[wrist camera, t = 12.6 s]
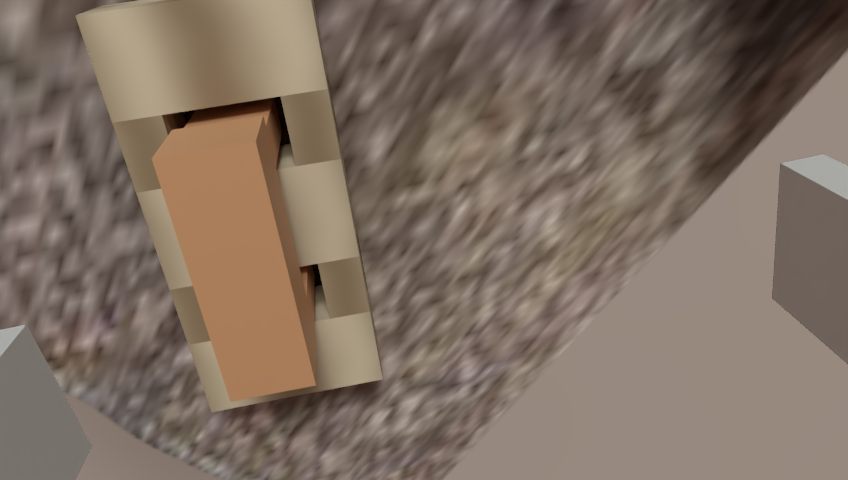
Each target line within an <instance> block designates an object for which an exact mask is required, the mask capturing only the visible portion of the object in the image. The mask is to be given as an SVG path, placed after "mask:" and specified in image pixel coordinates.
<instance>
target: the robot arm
mask: <svg viewBox="0 0 848 480" xmlns="http://www.w3.org/2000/svg"><path fill="white" fill-rule="evenodd" d="M772 298H773V299H774V300H775V301H776V302H777V303H778V304H779V305H781V306H782V307H783V308H784V309H785V310H786V311H787V312H789V313H790V314H791V315H792V316H793V317H794V318H796V319H797V320H798V321H799V322H800V323H801V324H803V325H804V326H805V327H806V328H807V329H808V330H809V331H810V332H812V333H813V334H814V335H815V336H816V337H817V338H818V339H820V340H821V341H822V342H823V343H824V344H826V346H828V347H829V348H830V349H831V350H832V351H833V352H834V353H836V354H837V355H838V356H839V357H840V358H841V359H843V360H844V361H845V362H846V363H847V364H848V165H846V164H844V163H842V162H840V161H837V160H835V159H833V158H831V157H829V156H827V155H825V154H821V155H816V156H812V157H807V158H802V159H798V160H793V161H788V162H783V163H781V164H780V179H779V195H778V211H777V228H776V244H775V260H774V276H773V292H772ZM91 447H92V445H91V443H90V441H89V439H88V438H87V436H86V434H85V432H84V430H83V428H82V426H81V424H80V423H79V421H78V419H77V417H76V415H75V413H74V412H73V410H72V408H71V406H70V404H69V402H68V401H67V399H66V397H65V395H64V393H63V391H62V389H61V388H60V386H59V384H58V382H57V380H56V378H55V377H54V375H53V373H52V371H51V369H50V367H49V366H48V364H47V362H46V360H45V358H44V356H43V354H42V353H41V351H40V349H39V347H38V345H37V343H36V342H35V340H34V338H33V336H32V334H31V332H30V331H29V329H28V327H27V325H22V326H17V327H12V328H8V329H3V330H0V480H76V478H77V476H78V474H79V472H80V469H81V467H82V465H83V463H84V461H85V459H86V457H87V455H88V453H89V451H90V449H91Z"/></svg>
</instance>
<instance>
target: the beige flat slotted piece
mask: <svg viewBox="0 0 848 480" xmlns="http://www.w3.org/2000/svg"><path fill="white" fill-rule="evenodd" d="M76 19H77V22H78V25H79V28H80V30H81V33H82V36H83V39H84V42H85V45H86V48H87V51H88V54H89V57H90V60H91V62H92V65H93V68H94V71H95V74H96V77H97V80H98V83H99V86H100V89H101V92H102V95H103V97H104V100H105V103H106V106H107V109H108V112H109V115H110V118H111V121H112V124H113V127H114V129H115V132H116V135H117V138H118V141H119V144H120V147H121V150H122V153H123V156H124V159H125V161H126V164H127V167H128V170H129V173H130V176H131V179H132V182H133V185H134V188H135V191H136V193H137V196H138V199H139V202H140V205H141V208H142V211H143V214H144V217H145V220H146V223H147V225H148V228H149V231H150V234H151V237H152V240H153V243H154V246H155V249H156V252H157V255H158V257H159V260H160V263H161V266H162V269H163V272H164V275H165V278H166V281H167V284H168V287H169V289H170V292H171V295H172V298H173V301H174V304H175V307H176V310H177V313H178V316H179V319H180V321H181V324H182V327H183V330H184V333H185V336H186V339H187V342H188V345H189V348H190V351H191V353H192V356H193V359H194V362H195V365H196V368H197V371H198V374H199V377H200V380H201V383H202V385H203V388H204V391H205V394H206V397H207V400H208V403H209V406H210V409H211V412H216V411H221V410H226V409H231V408H237V407H242V406H247V405H252V404H257V403H263V402H268V401H273V400H278V399H283V398H289V397H294V396H299V395H304V394H309V393H315V392H320V391H325V390H330V389H335V388H341V387H346V386H351V385H356V384H361V383H367V382H372V381H377V380H382V379H383V377H382V370H381V363H380V356H379V349H378V342H377V337H376V331H375V326H374V321H373V315H372V310H371V305H370V299H369V294H368V289H367V283H366V278H365V273H364V267H363V262H362V257H361V251H360V246H359V241H358V235H357V230H356V225H355V219H354V214H353V209H352V203H351V198H350V193H349V187H348V182H347V177H346V171H345V166H344V161H343V155H342V150H341V145H340V139H339V134H338V129H337V123H336V118H335V113H334V107H333V102H332V97H331V91H330V86H329V81H328V75H327V70H326V65H325V59H324V54H323V49H322V43H321V38H320V33H319V27H318V22H317V17H316V11H315V6H314V1H313V0H138V1H131V2H124V3H117V4H110V5H103V6H100V7H97V8H95V9H92V10H89V11H87V12H84V13H81V14H78V15H76ZM274 97H281V101H282V106H283V110H284V115H285V119H286V124H287V128H288V133H289V137H290V142H291V144H286V145H280V147H279V153H278V159H277V164H276V171H277V175H278V179H279V183H280V188H281V192H282V196H283V200H284V205H285V209H286V213H287V217H288V221H289V226H290V230H291V234H292V238H293V242H294V247H295V251H296V255H297V259H298V264H299V267H302V266H308V265H313V264H318V268H319V272H320V277H321V281H322V285H319V286H315V302H314V331H315V335H316V386H311V387H305V388H300V389H295V390H290V391H284V392H279V393H274V394H269V395H264V396H258V397H253V398H248V399H243V400H237V401H232V402H230V399H229V396H228V393H227V390H226V387H225V383H224V380H223V377H222V374H221V371H220V368H219V365H218V362H217V359H216V356H215V353H214V350H213V346H212V343H211V340H210V337H209V334H208V331H207V328H206V325H205V322H204V319H203V316H202V313H201V309H200V306H199V303H198V300H197V297H196V294H195V291H194V288H193V285H192V282H191V279H190V276H189V272H188V269H187V266H186V263H185V260H184V257H183V254H182V251H181V248H180V245H179V242H178V239H177V235H176V232H175V229H174V226H173V223H172V220H171V217H170V214H169V211H168V208H167V205H166V202H165V198H164V195H163V192H162V189H161V186H160V183H159V180H158V177H157V174H156V171H155V168H154V165H153V161H152V157H153V156H154V154H155V153H156V152H157V150H158V149H159V147H160V146H161V145H162V143H163V142H164V140H165V139H166V138H167V136H168V135H169V133H170V132H171V131H172V130H174V129H180V128H184V127H185V125H186V121H185V117H184V114H183V112H185V111H191V110H197V109H204V108H210V107H216V106H223V105H229V104H236V103H242V102H248V101H255V100H261V99H267V98H274Z"/></svg>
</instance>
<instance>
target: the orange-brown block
mask: <svg viewBox="0 0 848 480" xmlns="http://www.w3.org/2000/svg"><path fill="white" fill-rule="evenodd" d="M281 135H282V129H281V125H280V120H279V116H278V111H277V107H276V103H275V98H267V99H261V100H255V101H248V102H242V103H236V104H229V105H223V106H216V107H210V108H204V109H197V110H195V112H194V113H193V115H192V116H191V118H190V119H189V121H188V122H187V124H186V125H185V127H184V128H180V129H174V130H172V131H171V132H170V133H169V135H168V136H167V138H166V139H165V140H164V142H163V143H162V145H161V146H160V147H159V149H158V150H157V152H156V153H155V154H154V156H153V157H152V161H153V165H154V168H155V171H156V174H157V177H158V180H159V183H160V186H161V189H162V192H163V195H164V198H165V202H166V205H167V208H168V211H169V214H170V217H171V220H172V223H173V226H174V229H175V232H176V235H177V239H178V242H179V245H180V248H181V251H182V254H183V257H184V260H185V263H186V266H187V269H188V272H189V276H190V279H191V282H192V285H193V288H194V291H195V294H196V297H197V300H198V303H199V306H200V309H201V313H202V316H203V319H204V322H205V325H206V328H207V331H208V334H209V337H210V340H211V343H212V346H213V350H214V353H215V356H216V359H217V362H218V365H219V368H220V371H221V374H222V377H223V380H224V383H225V387H226V390H227V393H228V396H229V399H230V402H232V401H237V400H243V399H248V398H253V397H258V396H264V395H269V394H274V393H279V392H284V391H290V390H295V389H300V388H305V387H311V386H316V335H315V331H314V302H315V274H314V270H313V266H312V265H308V266H302V267H299V264H298V259H297V255H296V251H295V247H294V242H293V238H292V234H291V230H290V226H289V221H288V217H287V213H286V209H285V205H284V200H283V196H282V192H281V188H280V183H279V179H278V175H277V171H276V164H277V159H278V153H279V147H280V141H281Z"/></svg>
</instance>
